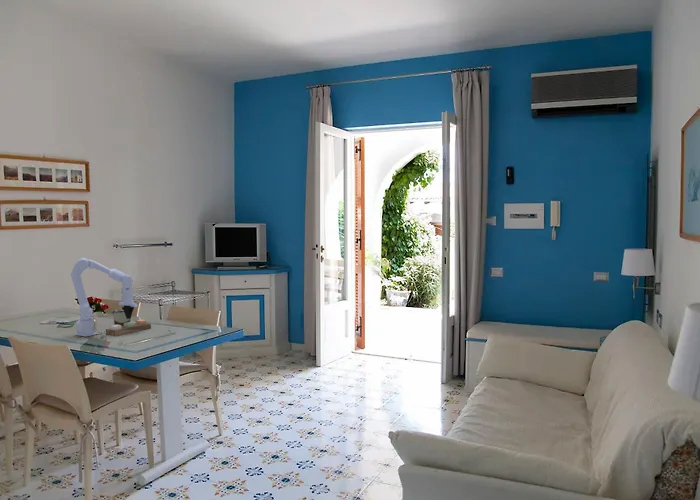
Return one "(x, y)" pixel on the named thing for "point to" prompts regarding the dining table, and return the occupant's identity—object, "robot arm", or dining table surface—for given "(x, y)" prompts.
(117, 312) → the food container
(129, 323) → the sage button
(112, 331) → the button panel
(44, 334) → the dining table surface
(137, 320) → the terracotta button
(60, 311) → the dining table surface
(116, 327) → the cream button
